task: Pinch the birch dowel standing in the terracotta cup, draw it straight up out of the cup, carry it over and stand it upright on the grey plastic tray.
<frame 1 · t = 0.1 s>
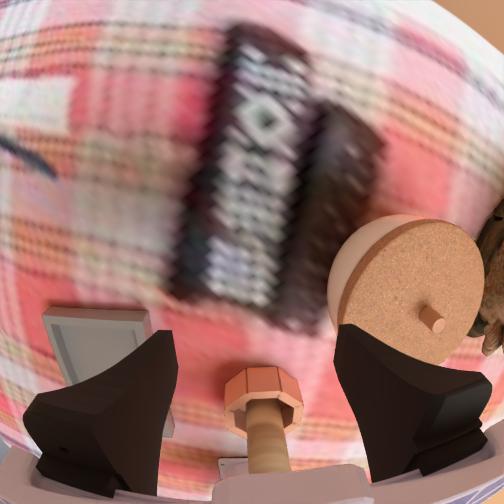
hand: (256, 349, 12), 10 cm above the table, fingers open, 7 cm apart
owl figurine: (501, 260, 23), on the table
cup: (261, 393, 25), on the table
lidded jar: (373, 268, 23), on the table
dowel: (261, 398, 25), point 1 cm above the table, touching cup
tray: (113, 373, 24), on the table
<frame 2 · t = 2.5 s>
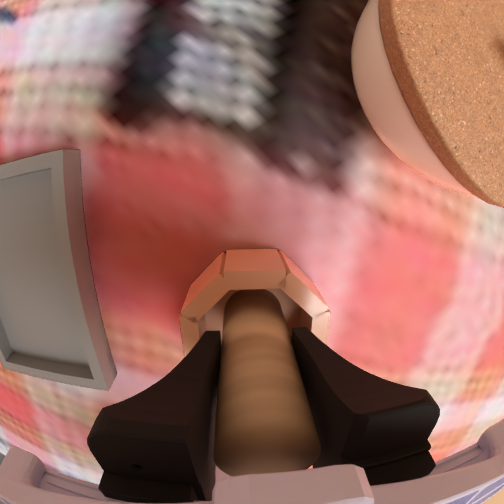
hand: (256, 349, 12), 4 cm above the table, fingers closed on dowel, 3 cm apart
cup: (252, 308, 16), on the table
lidded jar: (409, 95, 13), on the table
dowel: (253, 313, 15), point 1 cm above the table, touching cup, gripper
tray: (31, 274, 15), on the table
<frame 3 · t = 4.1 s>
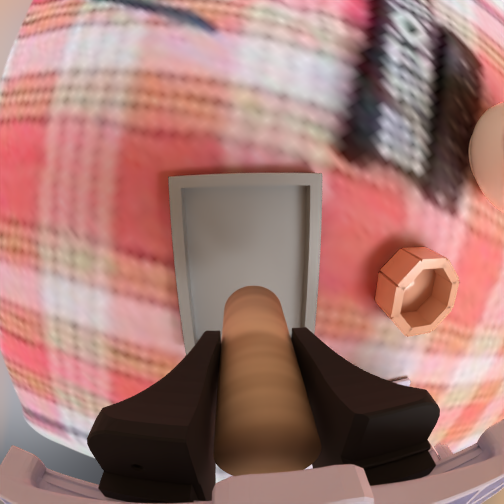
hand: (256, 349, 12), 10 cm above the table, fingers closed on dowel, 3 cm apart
cup: (408, 283, 23), on the table
lidded jar: (486, 157, 20), on the table
dowel: (253, 312, 15), point 7 cm above the table, touching gripper
tray: (247, 268, 22), on the table
when the fingers open (4 cm above the table, at t = 6.0 s): dowel stays where it is, resting on tray.
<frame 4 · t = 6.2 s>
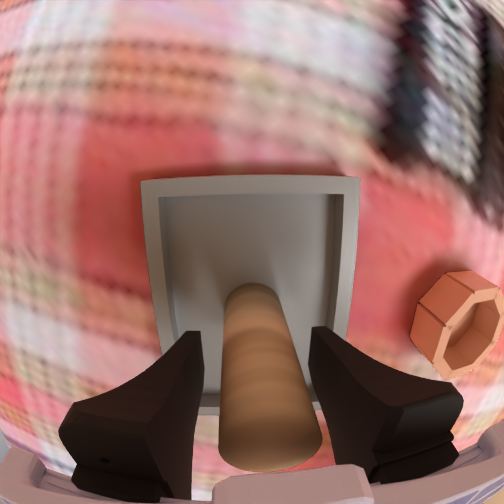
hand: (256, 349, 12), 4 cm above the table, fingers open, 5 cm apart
cup: (448, 314, 17), on the table
dowel: (252, 308, 16), point 1 cm above the table, touching tray
tray: (252, 304, 16), on the table
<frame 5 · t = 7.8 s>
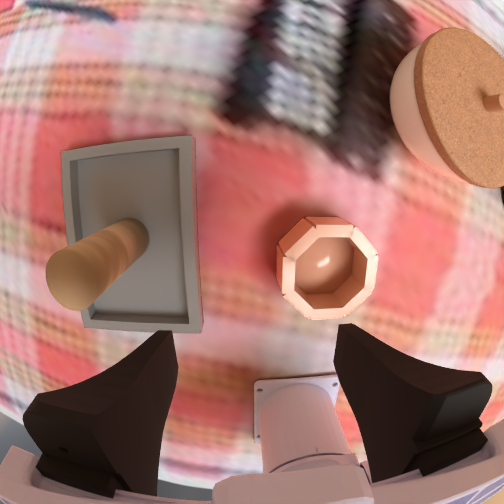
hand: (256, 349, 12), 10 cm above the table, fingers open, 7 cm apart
cup: (319, 260, 22), on the table
lidded jar: (422, 116, 20), on the table
dowel: (130, 238, 21), point 1 cm above the table, touching tray
tray: (133, 237, 21), on the table
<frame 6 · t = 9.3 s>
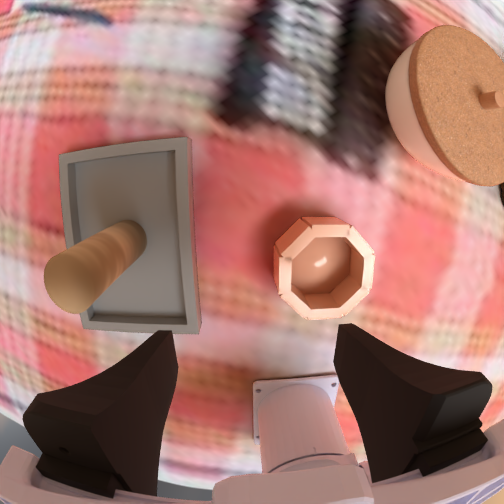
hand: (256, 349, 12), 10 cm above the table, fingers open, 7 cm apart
cup: (317, 260, 22), on the table
lidded jar: (419, 115, 20), on the table
dowel: (128, 239, 21), point 1 cm above the table, touching tray
tray: (131, 239, 21), on the table
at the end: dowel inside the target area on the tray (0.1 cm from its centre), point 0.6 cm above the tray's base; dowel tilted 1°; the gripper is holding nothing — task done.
